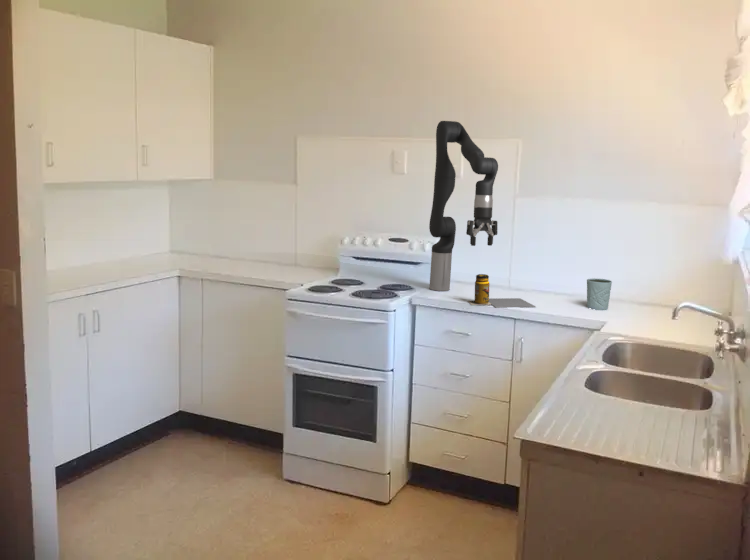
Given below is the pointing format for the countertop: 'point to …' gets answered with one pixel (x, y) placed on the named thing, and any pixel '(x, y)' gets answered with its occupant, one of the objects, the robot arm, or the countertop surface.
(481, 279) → the condiment
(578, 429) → the countertop surface
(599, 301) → the green embossed plant pot
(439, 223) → the robot arm
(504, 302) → the mat
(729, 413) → the countertop surface
